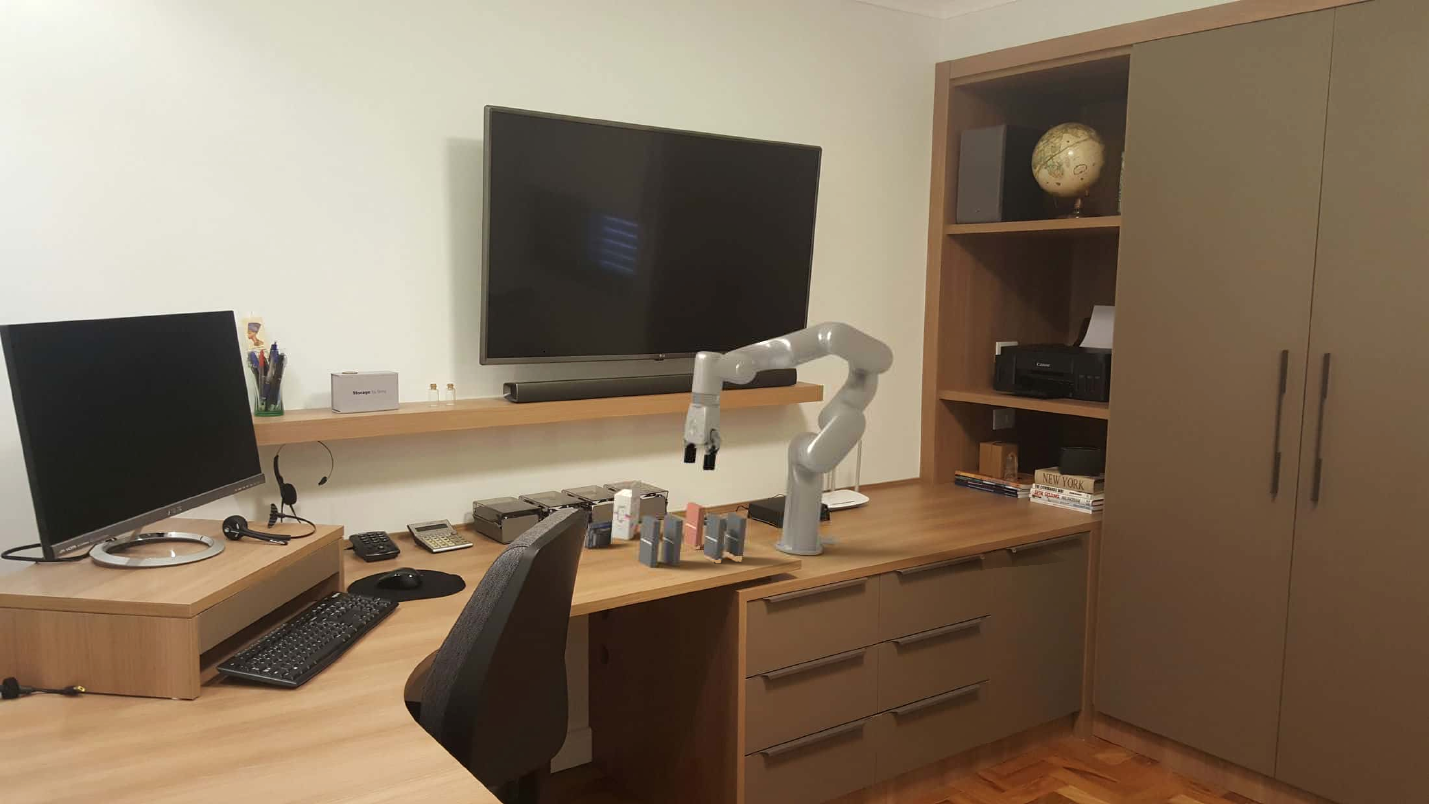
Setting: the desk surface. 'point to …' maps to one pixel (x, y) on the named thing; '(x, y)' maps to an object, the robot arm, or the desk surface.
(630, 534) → the ink cartridge box
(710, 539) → the domino
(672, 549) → the domino
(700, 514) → the domino
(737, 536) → the domino
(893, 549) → the desk surface
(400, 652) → the desk surface
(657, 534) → the domino
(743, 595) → the desk surface
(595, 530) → the mini dv tape
